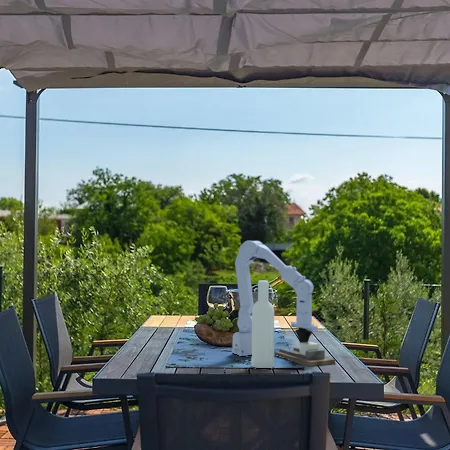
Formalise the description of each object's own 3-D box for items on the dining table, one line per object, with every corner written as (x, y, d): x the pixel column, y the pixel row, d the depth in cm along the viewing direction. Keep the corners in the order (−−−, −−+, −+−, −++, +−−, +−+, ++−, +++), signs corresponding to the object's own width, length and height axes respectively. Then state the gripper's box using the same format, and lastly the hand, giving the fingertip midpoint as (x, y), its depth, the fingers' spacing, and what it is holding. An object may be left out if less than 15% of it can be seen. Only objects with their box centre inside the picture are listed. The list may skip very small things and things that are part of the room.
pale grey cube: (307, 358, 214) (307, 344, 214) (299, 356, 218) (299, 342, 218) (318, 357, 216) (318, 343, 216) (310, 355, 221) (310, 341, 221)
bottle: (260, 363, 211) (260, 279, 212) (278, 366, 206) (279, 280, 207) (246, 367, 205) (247, 280, 206) (265, 370, 200) (266, 281, 201)
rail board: (308, 366, 207) (308, 353, 208) (274, 355, 227) (274, 343, 227) (335, 363, 213) (335, 351, 213) (300, 353, 232) (300, 341, 233)
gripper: (324, 314, 216) (324, 351, 216) (301, 309, 229) (301, 345, 228) (308, 314, 213) (308, 352, 212) (286, 310, 226) (286, 346, 225)
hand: (303, 348), depth 220 cm, fingers closed
